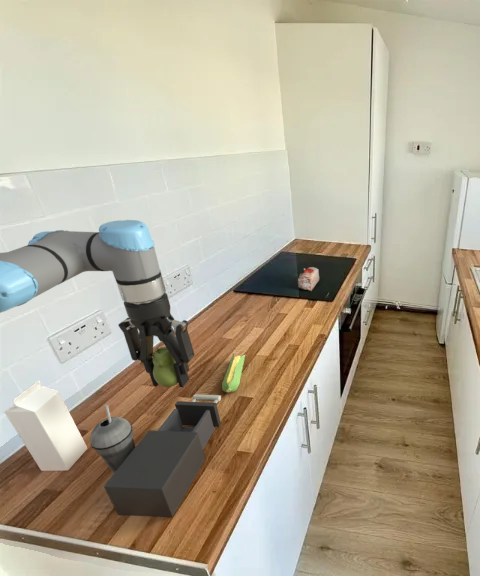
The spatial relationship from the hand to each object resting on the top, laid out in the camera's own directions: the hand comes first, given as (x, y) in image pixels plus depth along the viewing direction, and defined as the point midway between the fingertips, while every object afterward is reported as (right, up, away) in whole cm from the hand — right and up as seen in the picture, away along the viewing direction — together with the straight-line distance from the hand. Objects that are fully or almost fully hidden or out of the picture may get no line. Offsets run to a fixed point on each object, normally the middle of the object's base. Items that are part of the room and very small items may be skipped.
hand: (171, 382), depth 77 cm
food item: (+11, +23, +93) cm, 97 cm away
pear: (0, 0, 0) cm, 0 cm away
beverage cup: (-10, -21, 0) cm, 23 cm away
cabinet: (+1, -22, -3) cm, 23 cm away
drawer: (+1, -16, +8) cm, 18 cm away
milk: (-26, -19, +1) cm, 32 cm away
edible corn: (+2, -7, +30) cm, 31 cm away
